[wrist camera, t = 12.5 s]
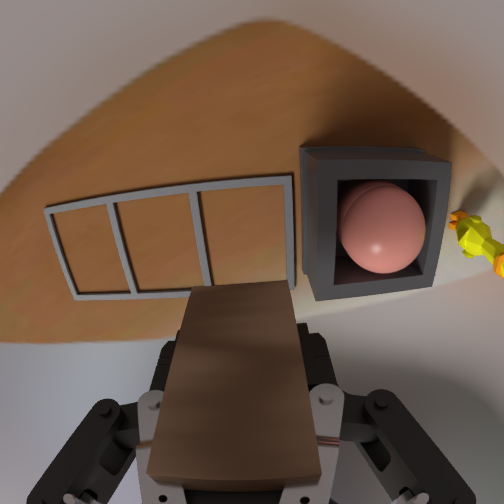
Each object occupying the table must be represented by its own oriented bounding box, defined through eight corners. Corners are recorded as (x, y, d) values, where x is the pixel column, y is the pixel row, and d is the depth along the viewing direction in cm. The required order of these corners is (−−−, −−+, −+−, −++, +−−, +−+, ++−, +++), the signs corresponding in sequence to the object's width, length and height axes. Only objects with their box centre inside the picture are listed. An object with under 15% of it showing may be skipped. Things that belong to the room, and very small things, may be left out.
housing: (301, 268, 25) (312, 303, 20) (299, 146, 20) (313, 156, 16) (407, 258, 25) (433, 288, 20) (418, 148, 20) (454, 160, 16)
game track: (75, 298, 26) (74, 300, 26) (45, 207, 22) (43, 208, 22) (293, 287, 26) (294, 289, 25) (291, 174, 21) (291, 175, 21)
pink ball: (329, 251, 23) (351, 296, 17) (330, 175, 20) (359, 200, 15) (397, 246, 23) (432, 285, 17) (404, 174, 20) (448, 198, 15)
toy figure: (484, 202, 22) (569, 259, 11) (478, 235, 24) (554, 301, 13) (434, 203, 22) (526, 271, 11) (429, 240, 24) (508, 319, 13)
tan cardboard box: (208, 352, 16) (188, 510, 8) (192, 286, 14) (145, 473, 6) (288, 348, 16) (308, 508, 7) (287, 280, 14) (321, 473, 6)
